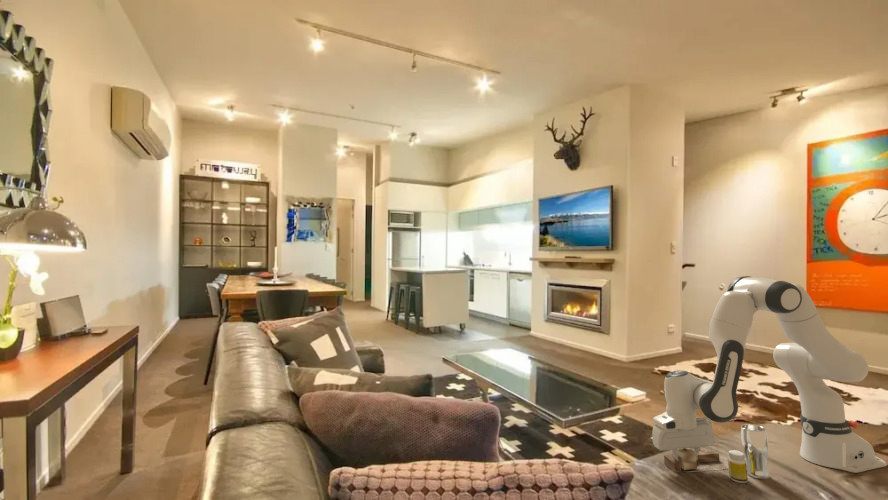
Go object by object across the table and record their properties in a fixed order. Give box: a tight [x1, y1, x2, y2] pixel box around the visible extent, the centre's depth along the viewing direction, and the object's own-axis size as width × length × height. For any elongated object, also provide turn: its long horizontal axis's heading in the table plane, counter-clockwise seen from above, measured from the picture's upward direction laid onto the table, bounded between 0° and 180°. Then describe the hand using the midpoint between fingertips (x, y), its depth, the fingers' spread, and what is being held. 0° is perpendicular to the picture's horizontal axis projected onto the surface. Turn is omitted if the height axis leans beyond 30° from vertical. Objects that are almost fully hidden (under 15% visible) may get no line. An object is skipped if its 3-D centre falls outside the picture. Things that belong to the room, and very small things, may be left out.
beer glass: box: [740, 423, 770, 480], centre depth 131 cm, size 7×7×15 cm
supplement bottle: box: [727, 449, 748, 484], centre depth 129 cm, size 5×5×8 cm
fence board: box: [663, 450, 724, 473], centre depth 139 cm, size 20×8×3 cm, turn 92°
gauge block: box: [676, 448, 698, 471], centre depth 138 cm, size 4×4×7 cm
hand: (685, 460), depth 138 cm, fingers closed on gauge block, 4 cm apart
